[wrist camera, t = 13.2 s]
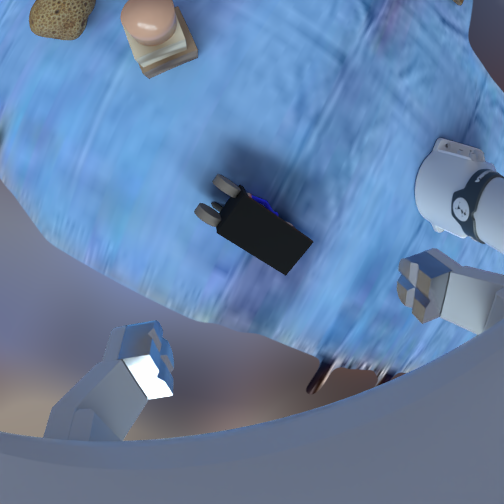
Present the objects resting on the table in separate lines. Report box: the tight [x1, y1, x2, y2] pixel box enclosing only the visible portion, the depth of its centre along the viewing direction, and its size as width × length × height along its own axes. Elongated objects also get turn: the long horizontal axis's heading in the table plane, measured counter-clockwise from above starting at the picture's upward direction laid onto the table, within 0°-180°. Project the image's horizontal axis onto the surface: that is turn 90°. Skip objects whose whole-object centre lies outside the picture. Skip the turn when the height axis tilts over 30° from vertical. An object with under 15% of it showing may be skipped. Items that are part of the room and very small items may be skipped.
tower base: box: [139, 6, 198, 79], centre depth 29 cm, size 7×7×5 cm
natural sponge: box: [29, 0, 96, 40], centre depth 21 cm, size 9×9×10 cm
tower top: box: [123, 14, 187, 67], centre depth 24 cm, size 6×6×5 cm
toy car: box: [194, 174, 313, 275], centre depth 40 cm, size 7×8×15 cm
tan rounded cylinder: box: [121, 0, 177, 46], centre depth 20 cm, size 5×5×5 cm
